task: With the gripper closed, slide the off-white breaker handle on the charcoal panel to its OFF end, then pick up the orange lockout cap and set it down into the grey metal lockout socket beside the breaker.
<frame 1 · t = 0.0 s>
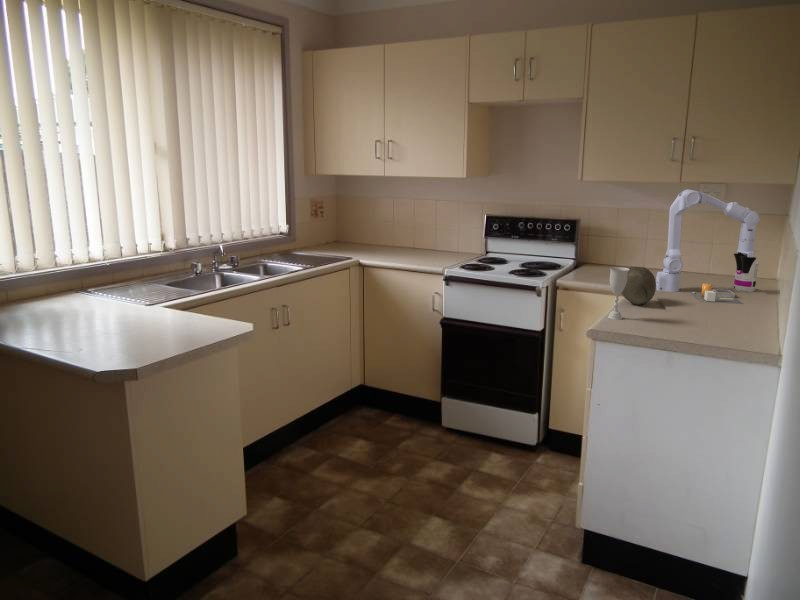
hand: (742, 271, 266), 10 cm above the worktop, tool pointing down, fingers open, 7 cm apart
cantaloupe: (635, 304, 251), on the worktop
supplement can: (743, 292, 275), on the worktop, touching gripper
breaker handle: (709, 295, 253), point 3 cm above the worktop, slide at 0.0 cm
lockout cap: (705, 296, 262), point 1 cm above the worktop, touching breaker panel
lockout socket: (722, 296, 262), resting on breaker panel
chalice: (614, 318, 228), on the worktop
breaker panel: (715, 300, 258), on the worktop
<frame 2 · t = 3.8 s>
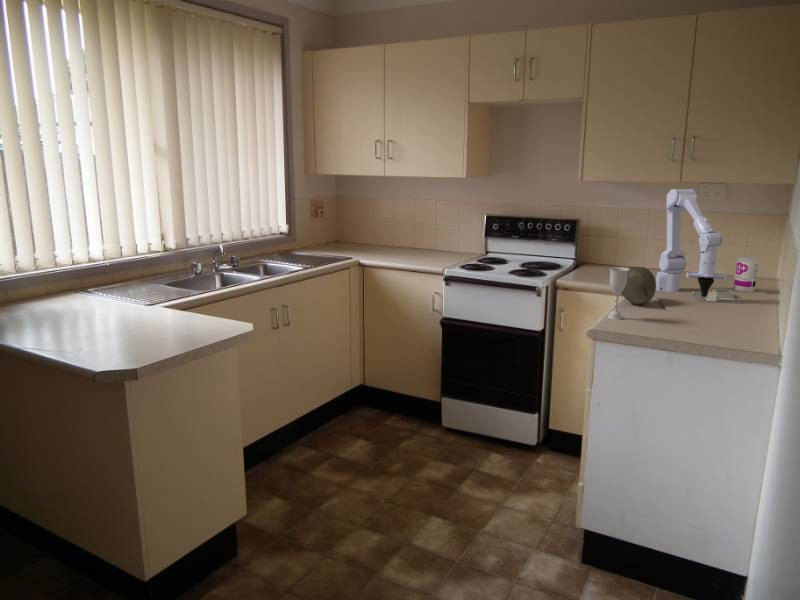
hand: (703, 296, 253), 3 cm above the worktop, tool pointing down, fingers closed
supplement can: (743, 292, 275), on the worktop
breaker handle: (710, 296, 253), point 3 cm above the worktop, slide at 0.4 cm, touching gripper
everything else where it was.
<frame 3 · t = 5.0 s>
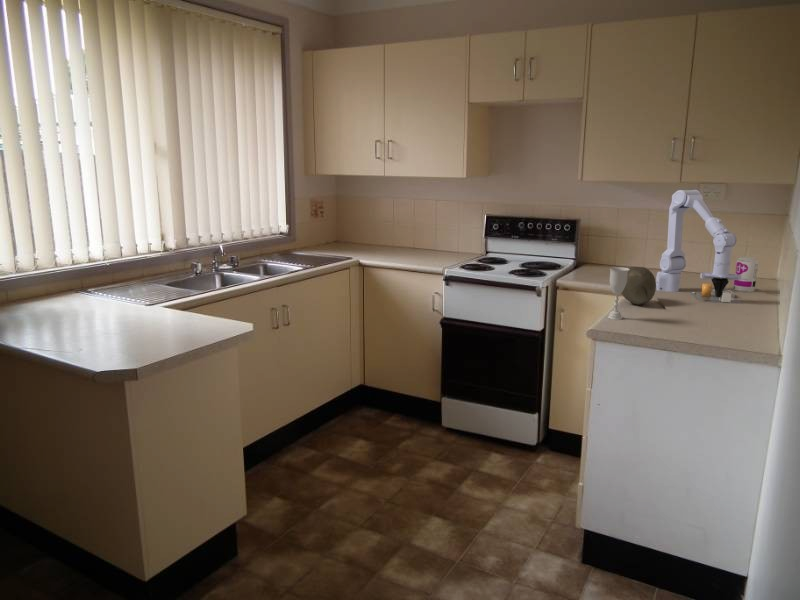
hand: (717, 296, 252), 3 cm above the worktop, tool pointing down, fingers closed
breaker handle: (725, 296, 252), point 3 cm above the worktop, slide at 5.7 cm, touching gripper
everything else where it was.
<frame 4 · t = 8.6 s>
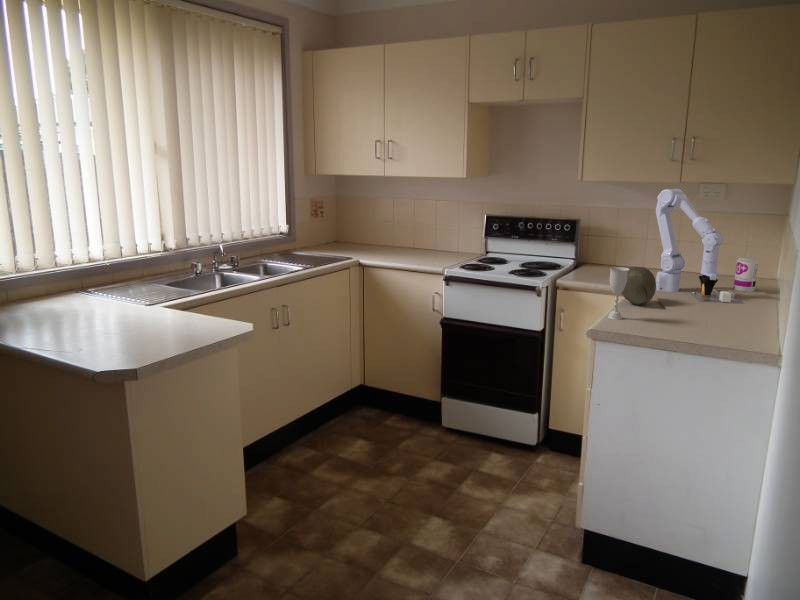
hand: (706, 294, 261), 2 cm above the worktop, tool pointing down, fingers closed on lockout cap, 4 cm apart
breaker handle: (725, 296, 252), point 3 cm above the worktop, slide at 5.7 cm
lockout cap: (705, 296, 262), point 1 cm above the worktop, touching breaker panel, gripper
everything else where it was.
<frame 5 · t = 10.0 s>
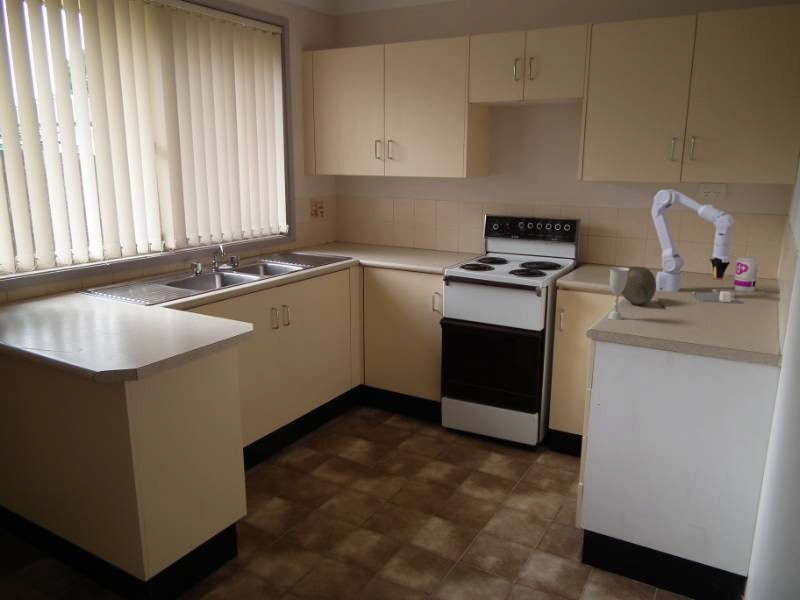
hand: (718, 277, 260), 9 cm above the worktop, tool pointing down, fingers closed on lockout cap, 4 cm apart
lockout cap: (717, 279, 260), point 8 cm above the worktop, touching gripper
everything else where it was.
when the fingers open (4 cm above the worktop, at t = 11.4 s): lockout cap drops 2 cm, resting on breaker panel.
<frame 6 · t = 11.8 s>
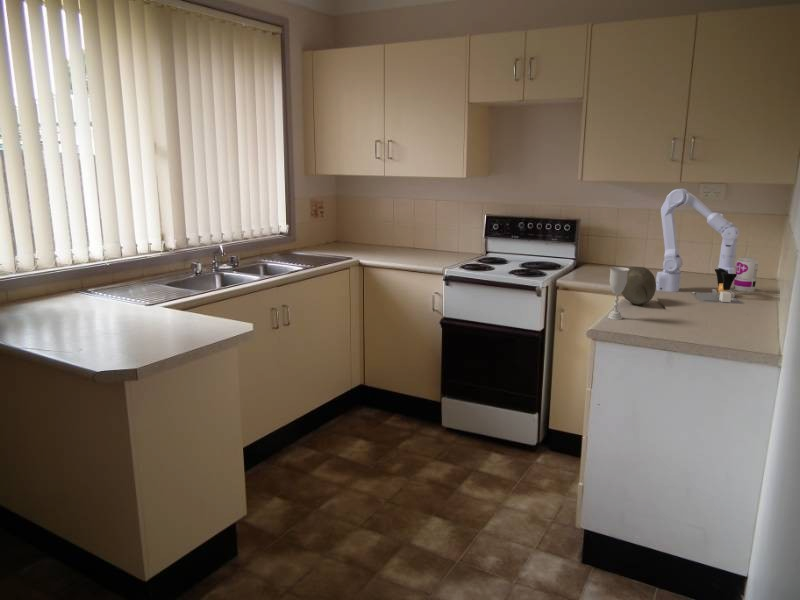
hand: (723, 287, 261), 4 cm above the worktop, tool pointing down, fingers open, 7 cm apart
lockout cap: (722, 295, 262), point 1 cm above the worktop, touching breaker panel
everything else where it was.
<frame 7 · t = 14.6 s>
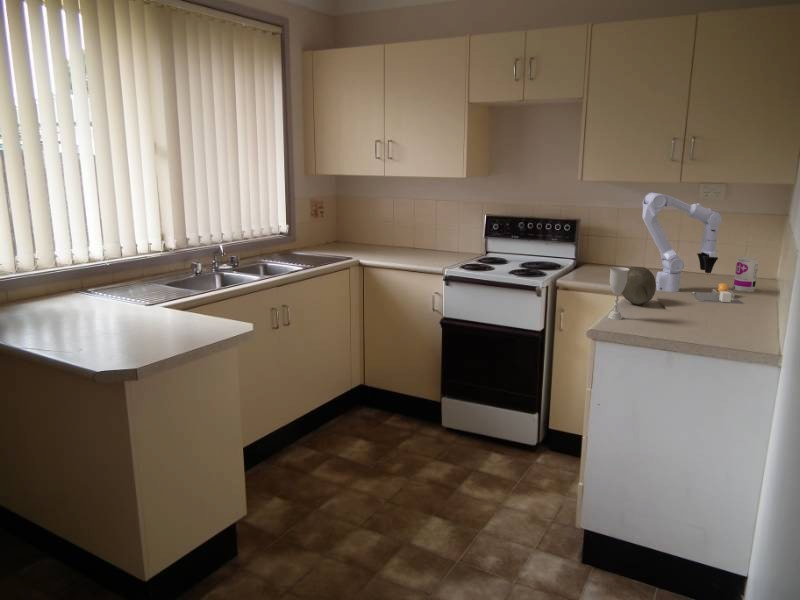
hand: (705, 271, 271), 9 cm above the worktop, tool pointing down, fingers open, 7 cm apart
nothing on the worktop moved.
at the end: breaker handle slide at 5.7 cm; lockout cap 0.1 cm off-centre on the lockout socket, point 0.1 cm above the lockout socket's base; lockout cap tilted 2° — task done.
